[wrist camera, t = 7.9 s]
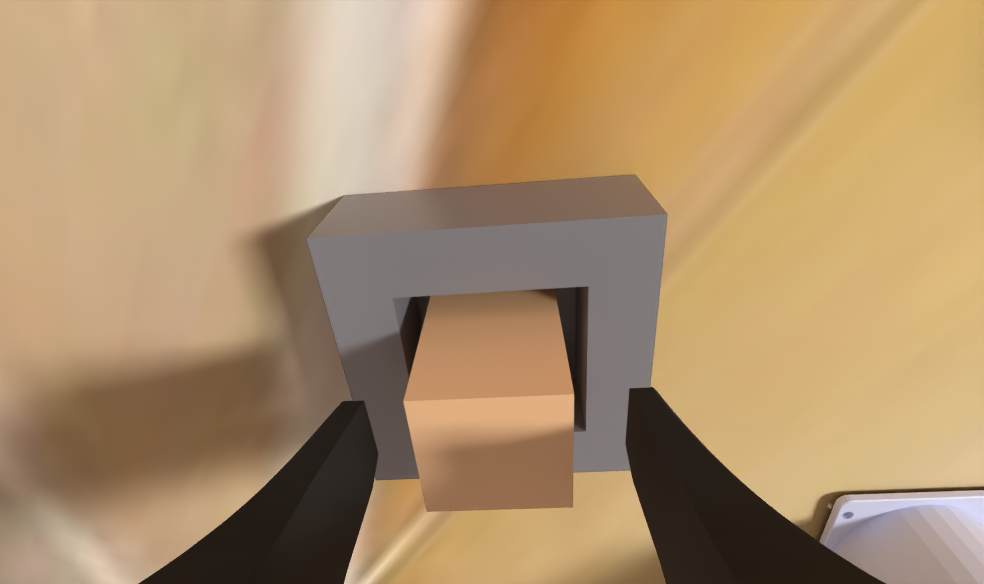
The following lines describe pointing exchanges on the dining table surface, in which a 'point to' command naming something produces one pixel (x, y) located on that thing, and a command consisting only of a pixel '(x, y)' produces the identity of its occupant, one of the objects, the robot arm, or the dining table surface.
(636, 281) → the socket
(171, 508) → the dining table surface
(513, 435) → the plug
